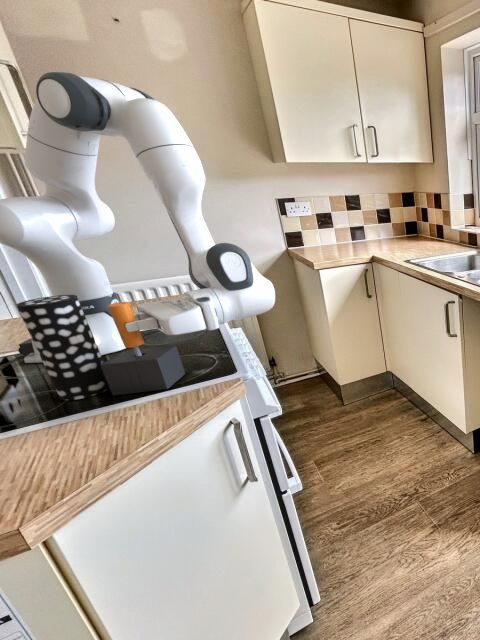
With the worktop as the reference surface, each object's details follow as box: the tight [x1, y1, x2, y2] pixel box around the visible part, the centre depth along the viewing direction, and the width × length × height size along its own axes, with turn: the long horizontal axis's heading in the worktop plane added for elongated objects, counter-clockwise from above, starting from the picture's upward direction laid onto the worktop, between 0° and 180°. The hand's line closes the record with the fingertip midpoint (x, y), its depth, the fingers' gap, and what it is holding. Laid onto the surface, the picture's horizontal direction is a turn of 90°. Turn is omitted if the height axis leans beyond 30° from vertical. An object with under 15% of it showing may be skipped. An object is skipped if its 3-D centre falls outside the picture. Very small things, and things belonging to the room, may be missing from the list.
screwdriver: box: [108, 301, 145, 356], centre depth 88 cm, size 3×3×17 cm
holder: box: [100, 345, 186, 396], centre depth 91 cm, size 10×8×7 cm
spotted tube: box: [15, 295, 110, 401], centre depth 86 cm, size 8×8×20 cm
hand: (122, 325), depth 86 cm, fingers closed on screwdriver, 3 cm apart
